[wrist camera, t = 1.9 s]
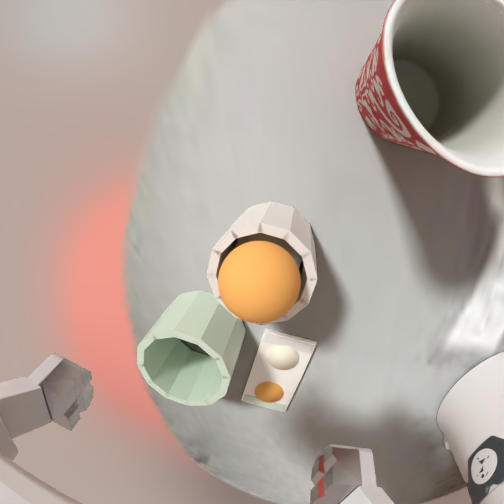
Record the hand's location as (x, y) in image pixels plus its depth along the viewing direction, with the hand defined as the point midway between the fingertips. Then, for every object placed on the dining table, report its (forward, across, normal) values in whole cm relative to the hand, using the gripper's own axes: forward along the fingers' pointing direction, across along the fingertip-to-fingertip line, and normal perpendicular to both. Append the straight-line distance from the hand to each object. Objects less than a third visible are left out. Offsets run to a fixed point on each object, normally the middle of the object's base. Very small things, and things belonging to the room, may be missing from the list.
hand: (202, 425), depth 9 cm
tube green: (+19, +3, +10) cm, 22 cm away
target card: (+19, -5, +13) cm, 23 cm away
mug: (+19, -8, -16) cm, 26 cm away
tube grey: (+19, 0, 0) cm, 19 cm away
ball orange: (+14, 0, 0) cm, 14 cm away
